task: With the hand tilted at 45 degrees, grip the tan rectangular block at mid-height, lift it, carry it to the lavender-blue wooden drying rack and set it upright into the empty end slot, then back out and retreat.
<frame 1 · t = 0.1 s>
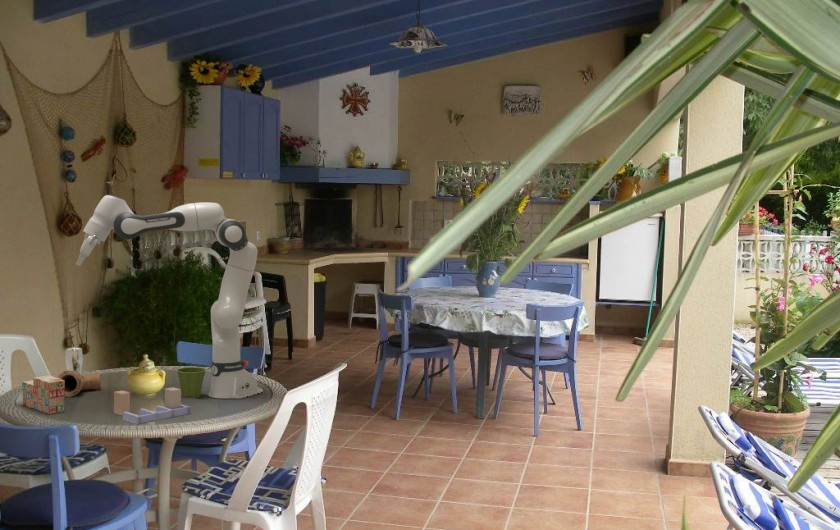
hand: (77, 264, 342), 54 cm above the table, tool tilted 30°, fingers open, 8 cm apart
beige upright block: (173, 413, 330), resting on rack
rack: (157, 418, 325), on the table
tan rectangular block: (122, 416, 328), on the table
stack of blocks: (43, 409, 338), on the table
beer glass: (74, 383, 383), on the table
plant pot: (191, 397, 361), on the table
clay pipe: (79, 394, 365), on the table
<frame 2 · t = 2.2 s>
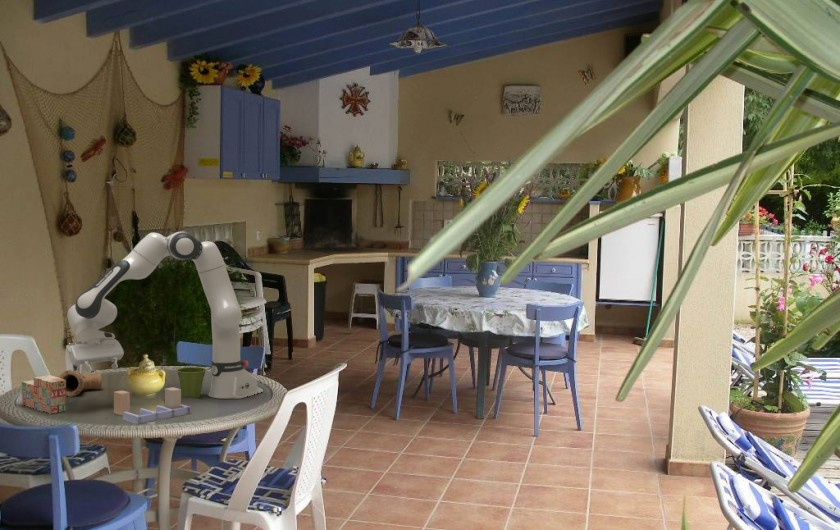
hand: (104, 369, 335), 15 cm above the table, tool tilted 45°, fingers open, 8 cm apart
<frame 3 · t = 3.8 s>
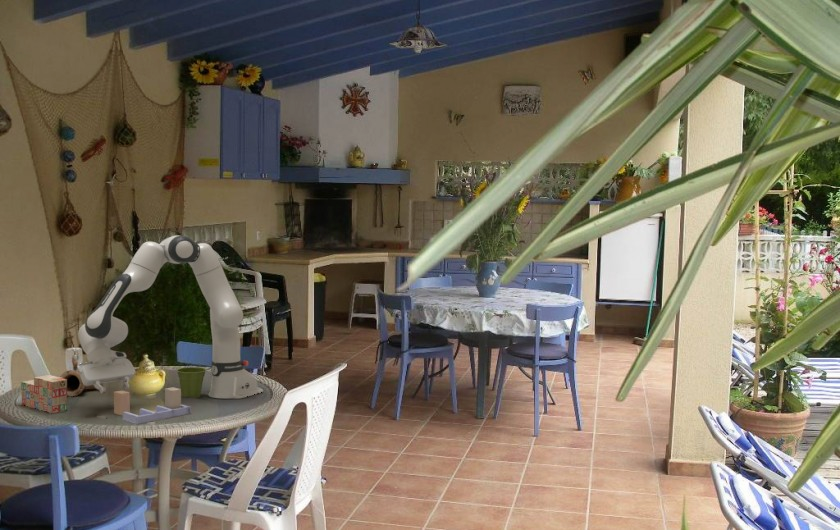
hand: (115, 390, 330), 9 cm above the table, tool tilted 45°, fingers open, 8 cm apart
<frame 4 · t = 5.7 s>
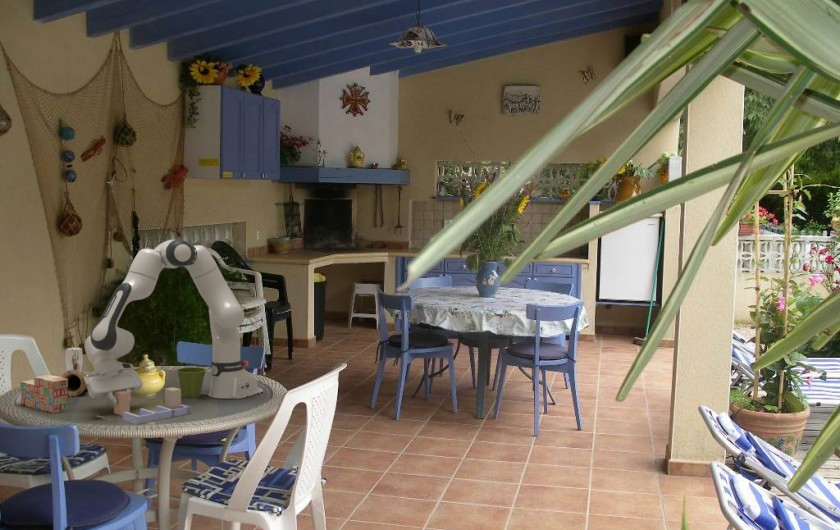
hand: (122, 402, 328), 5 cm above the table, tool tilted 45°, fingers closed on tan rectangular block, 3 cm apart
tan rectangular block: (122, 416, 328), on the table, touching gripper
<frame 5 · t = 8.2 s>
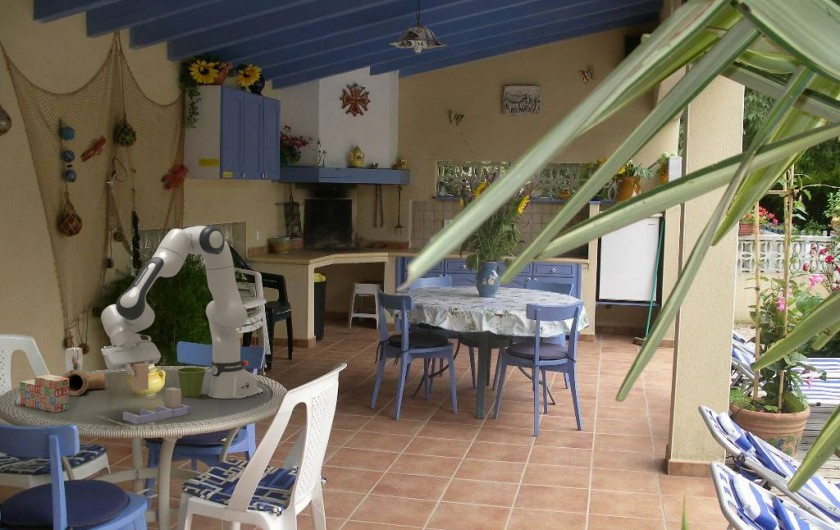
hand: (141, 374, 318), 17 cm above the table, tool tilted 45°, fingers closed on tan rectangular block, 3 cm apart
tan rectangular block: (140, 389, 319), point 12 cm above the table, touching gripper
when the fingers open (8 cm above the table, at t = 10.7 s): tan rectangular block drops 1 cm, resting on rack.
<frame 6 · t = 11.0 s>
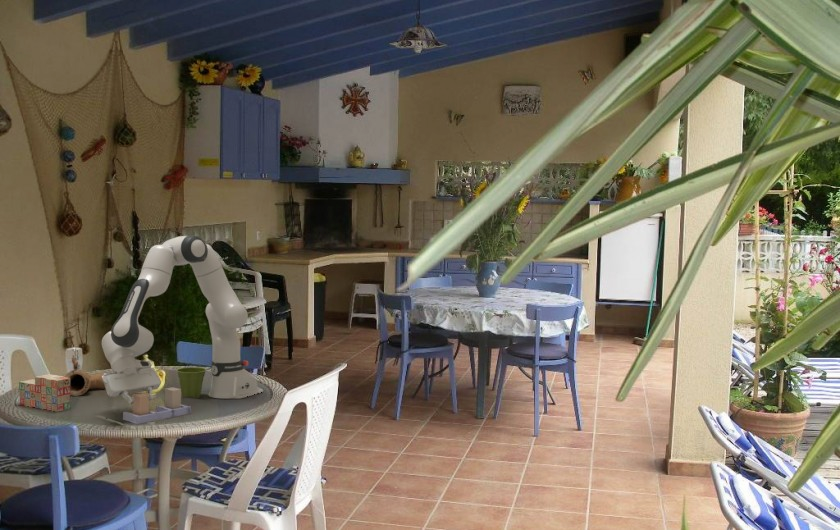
hand: (141, 401, 319), 8 cm above the table, tool tilted 45°, fingers open, 6 cm apart
tan rectangular block: (140, 419, 320), point 1 cm above the table, touching rack
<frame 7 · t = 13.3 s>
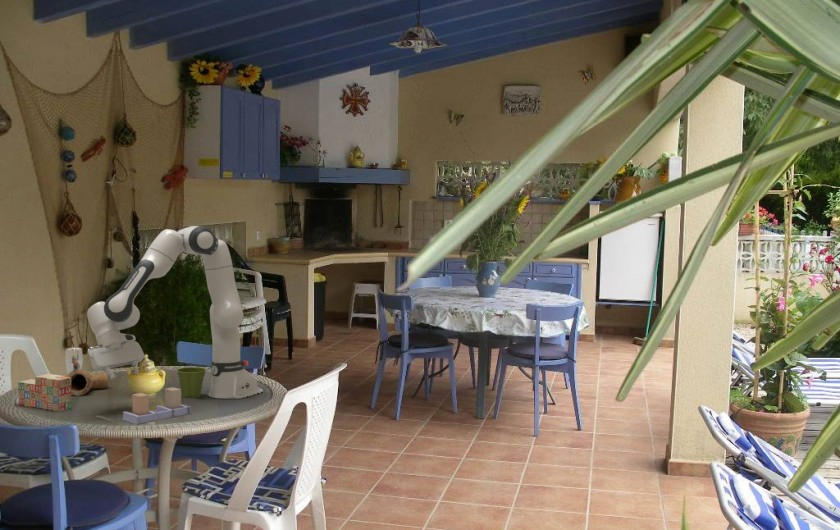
hand: (125, 375, 330), 15 cm above the table, tool tilted 35°, fingers open, 8 cm apart
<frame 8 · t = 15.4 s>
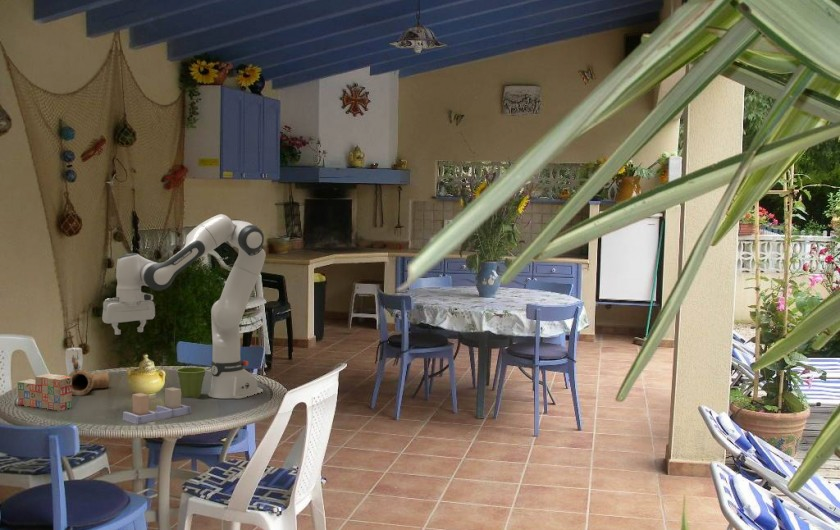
hand: (129, 333, 337), 29 cm above the table, tool pointing down, fingers open, 8 cm apart
at the end: tan rectangular block 0.1 cm from the target spot on the rack, point 1.0 cm above the rack's base; tan rectangular block tilted 0°; the gripper is holding nothing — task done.
